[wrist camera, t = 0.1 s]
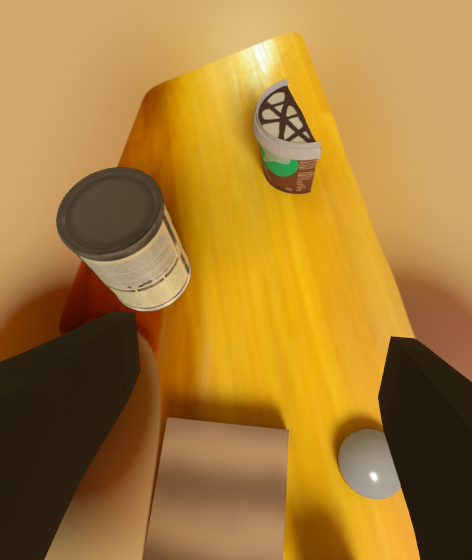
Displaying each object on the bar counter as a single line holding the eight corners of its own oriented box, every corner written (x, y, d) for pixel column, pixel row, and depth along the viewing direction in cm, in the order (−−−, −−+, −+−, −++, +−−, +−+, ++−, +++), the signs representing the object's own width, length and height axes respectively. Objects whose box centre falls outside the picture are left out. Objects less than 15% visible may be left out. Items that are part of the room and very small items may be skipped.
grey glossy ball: (402, 501, 36) (408, 503, 35) (337, 493, 37) (340, 494, 35) (397, 433, 39) (403, 432, 37) (336, 427, 40) (339, 425, 38)
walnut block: (281, 575, 34) (281, 584, 32) (152, 555, 36) (142, 563, 33) (287, 432, 39) (288, 429, 37) (174, 420, 41) (167, 417, 38)
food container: (244, 147, 57) (239, 88, 48) (284, 136, 57) (286, 75, 48) (270, 212, 51) (269, 159, 42) (314, 200, 52) (322, 144, 43)
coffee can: (95, 285, 49) (33, 223, 36) (148, 227, 52) (107, 151, 39) (155, 328, 46) (110, 276, 33) (207, 264, 49) (184, 194, 36)
